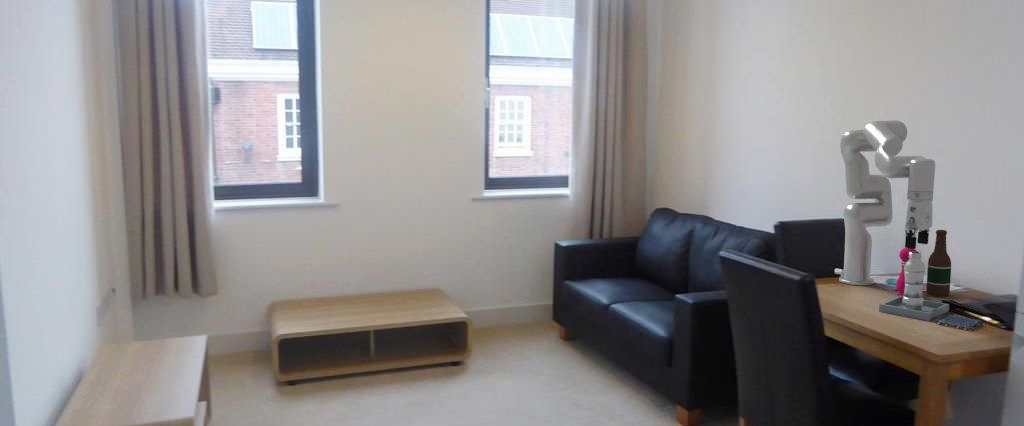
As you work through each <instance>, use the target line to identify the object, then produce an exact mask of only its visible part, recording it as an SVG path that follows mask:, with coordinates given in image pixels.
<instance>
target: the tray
mask: <svg viewBox="0 0 1024 426" xmlns="http://www.w3.org/2000/svg"><path fill="white" fill-rule="evenodd" d="M902 299H903V296H898V297H897V296H895V297H893V298H891V299H888V300H886V301H884V302H881V303H879V306H878V312H879V313H880V312H881V313H886V314H890V315H896V316H900V317H907V318H911V319H917V320H922V321H926V322H931V321H934V320H935V319H937V318H939V317H940V316H942V315H944V314H946V313H949V311H950V304H949V303H944V302H938V301H934V300H933V301H932V300H927V299H923V300H924V306H923V308H922V309H921V310H919V311H917V310H912V309H906V308H903V306H902Z"/></svg>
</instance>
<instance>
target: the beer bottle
mask: <svg viewBox="0 0 1024 426" xmlns="http://www.w3.org/2000/svg"><path fill="white" fill-rule="evenodd" d="M935 234H936V236H935V244H934V249H933V252H932V253H931V254H930V255H929V257H928V261H927V275H926V294H927V296H931V297H936V298H946V297H949V296H950V291H951V290H950V289H951V277H952V260H951V257H950V256H949V254H948V251H947V234H948V231H947V230H946V229H945V230H944V229H937V230H936V231H935Z"/></svg>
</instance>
